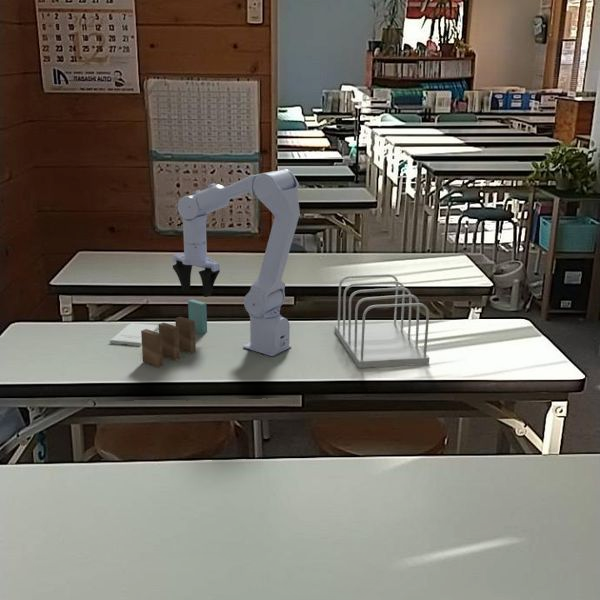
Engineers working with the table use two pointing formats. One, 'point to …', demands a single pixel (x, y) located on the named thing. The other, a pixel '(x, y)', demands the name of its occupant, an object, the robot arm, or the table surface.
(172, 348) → the domino
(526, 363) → the table surface
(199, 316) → the domino
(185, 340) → the domino
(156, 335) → the domino
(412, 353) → the file sorter
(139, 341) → the external hard drive
